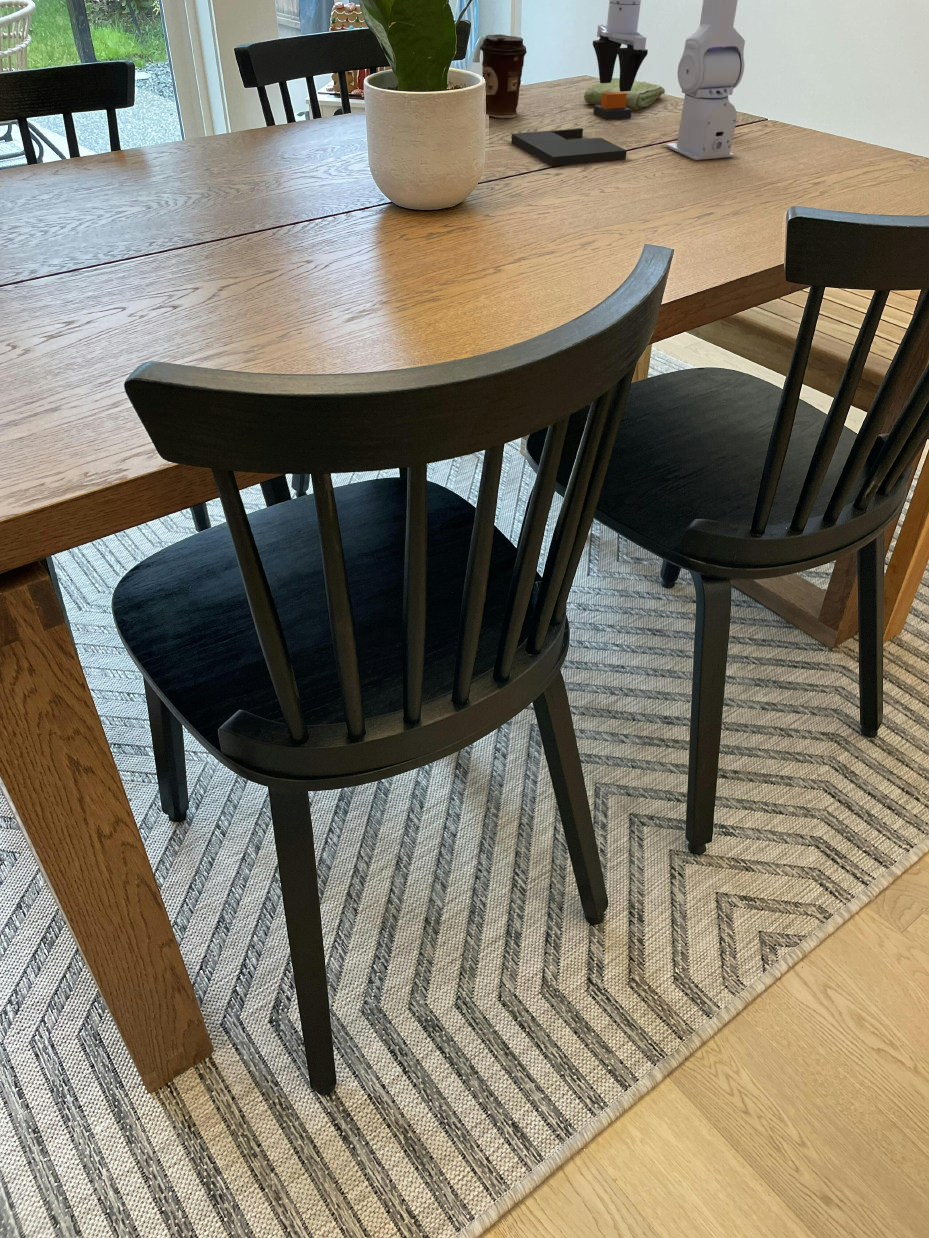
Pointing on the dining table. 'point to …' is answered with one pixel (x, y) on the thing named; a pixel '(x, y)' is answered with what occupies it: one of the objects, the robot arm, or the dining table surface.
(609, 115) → the connector pad
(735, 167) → the dining table surface
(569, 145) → the base pad
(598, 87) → the washcloth
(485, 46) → the coffee cup
